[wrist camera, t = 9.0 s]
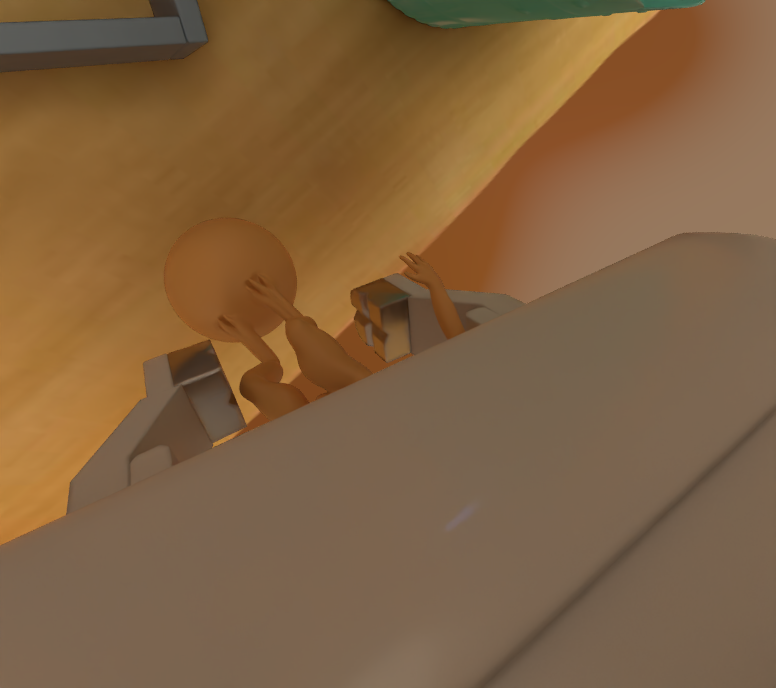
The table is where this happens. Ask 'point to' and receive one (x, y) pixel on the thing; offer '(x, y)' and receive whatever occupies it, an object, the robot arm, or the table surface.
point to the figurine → (268, 308)
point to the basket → (522, 10)
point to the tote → (103, 39)
